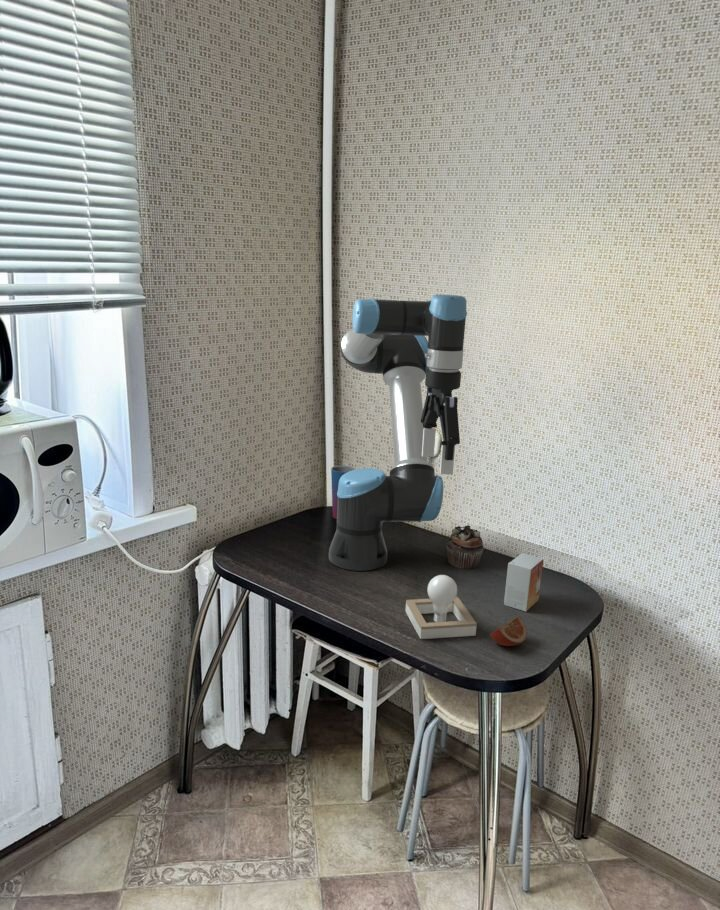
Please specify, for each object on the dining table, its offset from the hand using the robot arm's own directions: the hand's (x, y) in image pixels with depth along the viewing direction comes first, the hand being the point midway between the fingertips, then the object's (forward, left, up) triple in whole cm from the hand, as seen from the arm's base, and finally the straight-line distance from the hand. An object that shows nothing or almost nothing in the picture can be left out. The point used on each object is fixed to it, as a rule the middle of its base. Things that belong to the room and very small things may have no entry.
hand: (436, 464), depth 158 cm
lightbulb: (+13, -1, -32) cm, 34 cm away
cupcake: (-17, +15, -32) cm, 39 cm away
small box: (+6, +21, -32) cm, 39 cm away
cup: (-53, -11, -32) cm, 63 cm away
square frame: (+13, -1, -32) cm, 34 cm away
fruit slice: (+23, +11, -32) cm, 41 cm away
